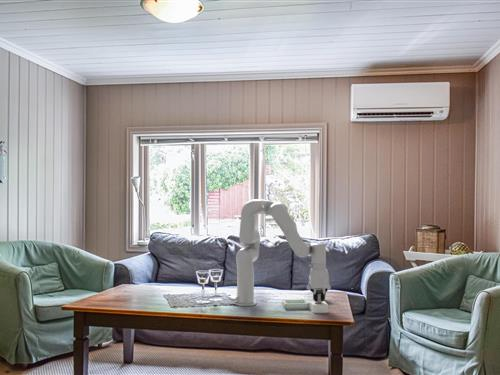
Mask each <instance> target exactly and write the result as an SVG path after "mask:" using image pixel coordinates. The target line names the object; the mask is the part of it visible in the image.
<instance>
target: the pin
mask: <svg viewBox="0 0 500 375" xmlns="http://www.w3.org/2000/svg"><path fill="white" fill-rule="evenodd" d="M322 292H323V290H322V289H316V294H317V302H316V304H322Z"/></svg>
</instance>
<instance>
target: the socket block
mask: <svg viewBox="0 0 500 375" xmlns="http://www.w3.org/2000/svg"><path fill="white" fill-rule="evenodd" d="M309 310H310V311H311V312H312V313H314V314H321V313H322V314H323V313H324V314H325V313H329V304H328V303H327V302H326V300H325V301H324V302H322V304H316V302H315V301H314V300H313V301H312V300H310V301H309Z"/></svg>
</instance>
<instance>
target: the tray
mask: <svg viewBox="0 0 500 375" xmlns="http://www.w3.org/2000/svg"><path fill="white" fill-rule="evenodd" d="M281 305H282V307H283V308H284V310H285V311H289V310H291V311H294V310H295V311H296V310H310V302H309V301H308V300H307V299H305V298H300V299H299V298H296V299H295V298H293V299H292V298H291V299H282V303H281Z"/></svg>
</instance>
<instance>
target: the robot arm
mask: <svg viewBox="0 0 500 375" xmlns="http://www.w3.org/2000/svg"><path fill="white" fill-rule="evenodd" d="M256 215H265V216H270V217H271V218H272V219H273V220H274V222H275V223H276V225H277V226H278V228H279V229H280V230H281V232H282V234H283V236H284V238H285V239H286V241H287V242H286V243H287V244H288V246H289V247H290V248H291V249H292V251H293V252H294V253H295V255H296V256H297V257H299V258H306V257H308V256H311V262H310V264H309V263H308V267H309V268H310V270H309V276H308V283H307V286H306V289H307V290H308V291H310V292H311V293H312V297H313V298H312V299H313V301H315V302H317V294H316V289H320V288H321V289H322V290H323V292H322V302H324V294H325V293H326V294H327V292H328V290H331V289H332V287H331V286H332V285H330V278H329V270H328V268H327V260H326V258H327V257H326V256H327V251H326V250H327V248H326V247H327V246H326V244H325V243H323V242H310V241H309V242H308V241H304V240H303V239H302V237H301V236H300V233H299V232H298V230H297V229H298V227H297V223H296V222H295V220H294V219H293V218H292V216H291V215H290V213H289V211H288V207H287V205H286V204H285V203H283V202H279V201H273V200H269V199H268V200H267V199H263V198H258V199H251V200H249V201H247V202H246V203H245V204H244V205H243V206H242V208H241V212H240V223H239V224H240V225H239V235H238V237H239V242H240V243H241V244H242V245H243V247H242V248H240V249H239V250H237V253H236V255H235V261H236V277H237V278H236V280H237V282H236V284H237V285H236V289H237V290H236V295H234V296H228V300H229V301H234V305H236V306H240V307H251V306H255V305H257V300H255V268H254V263H255V261H257V260H258V258H259V256H260V246H261V245H260V244H261V235H260V231H259V230H258V229H256Z"/></svg>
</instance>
